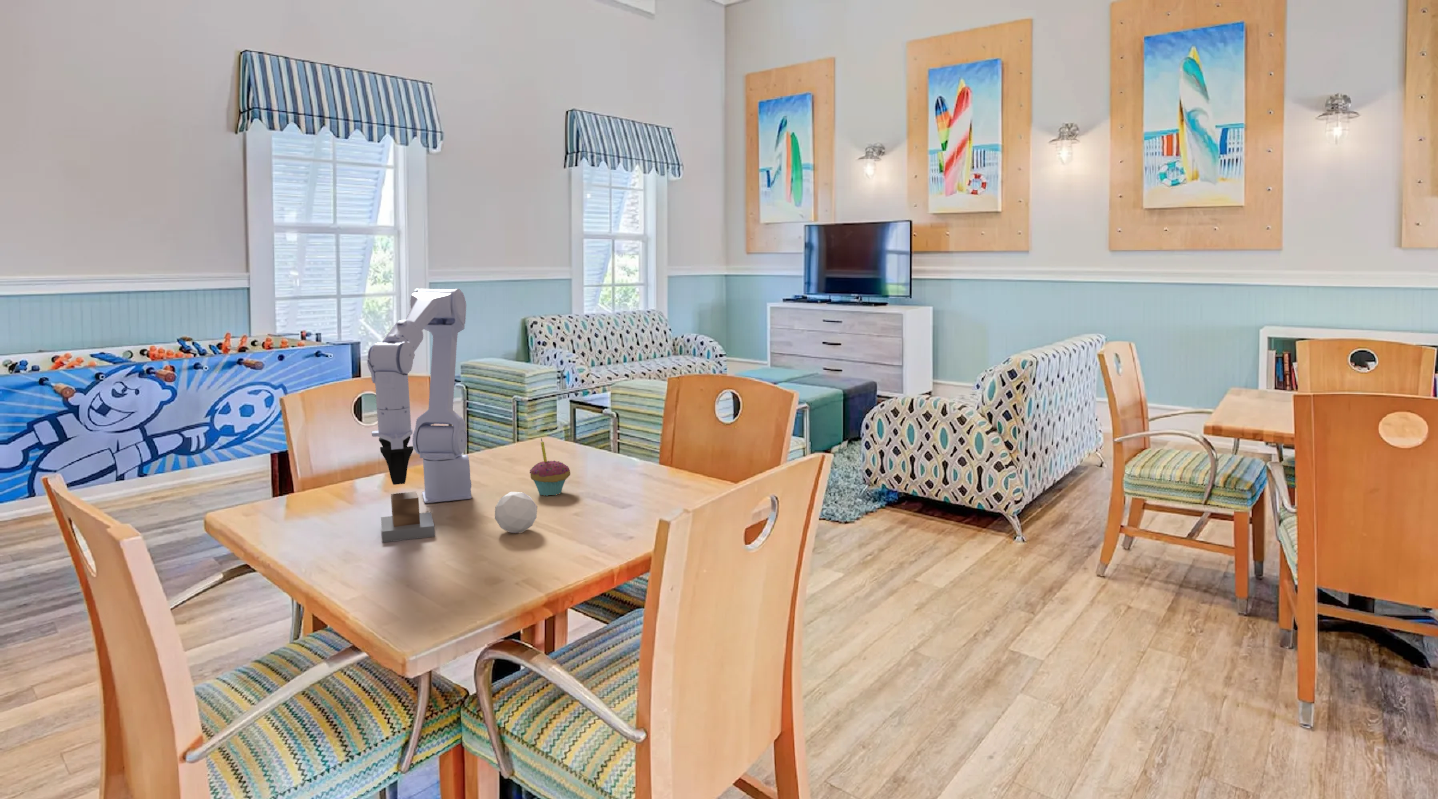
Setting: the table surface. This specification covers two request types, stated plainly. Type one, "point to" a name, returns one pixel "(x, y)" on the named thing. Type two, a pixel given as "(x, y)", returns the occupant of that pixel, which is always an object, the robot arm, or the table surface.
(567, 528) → the table surface
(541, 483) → the cupcake
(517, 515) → the geometric ball
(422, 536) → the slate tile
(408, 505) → the walnut block
